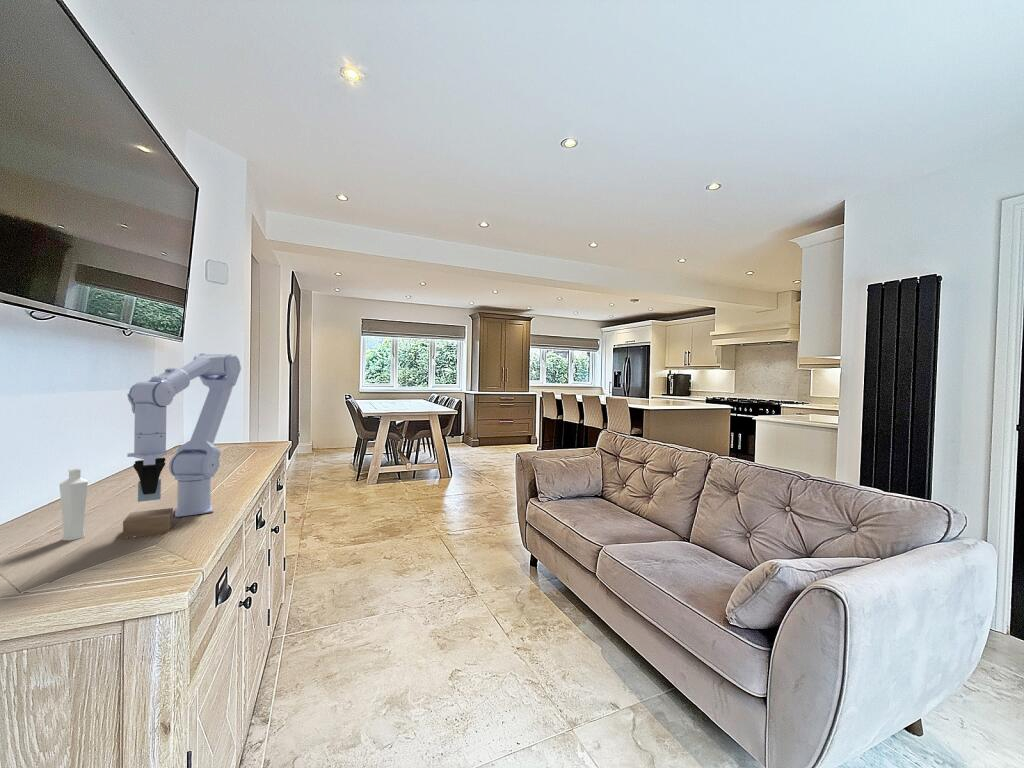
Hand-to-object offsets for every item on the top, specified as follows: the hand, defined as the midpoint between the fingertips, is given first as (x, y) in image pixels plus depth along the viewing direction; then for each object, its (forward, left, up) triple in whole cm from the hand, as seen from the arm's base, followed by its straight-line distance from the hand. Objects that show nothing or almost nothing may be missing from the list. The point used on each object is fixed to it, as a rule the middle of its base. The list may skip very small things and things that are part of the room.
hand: (149, 491), depth 103 cm
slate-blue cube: (0, 0, -2) cm, 2 cm away
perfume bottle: (-4, -13, -9) cm, 16 cm away
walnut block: (0, 0, -9) cm, 9 cm away
